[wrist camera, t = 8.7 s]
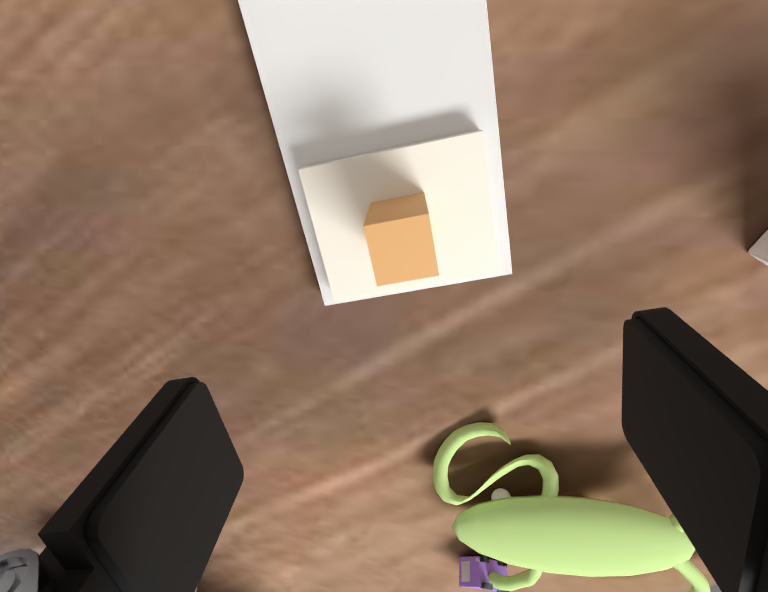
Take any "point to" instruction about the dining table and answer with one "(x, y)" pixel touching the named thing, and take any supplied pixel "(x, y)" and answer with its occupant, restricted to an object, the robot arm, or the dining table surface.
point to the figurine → (556, 529)
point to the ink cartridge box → (760, 249)
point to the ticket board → (375, 88)
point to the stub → (403, 216)
